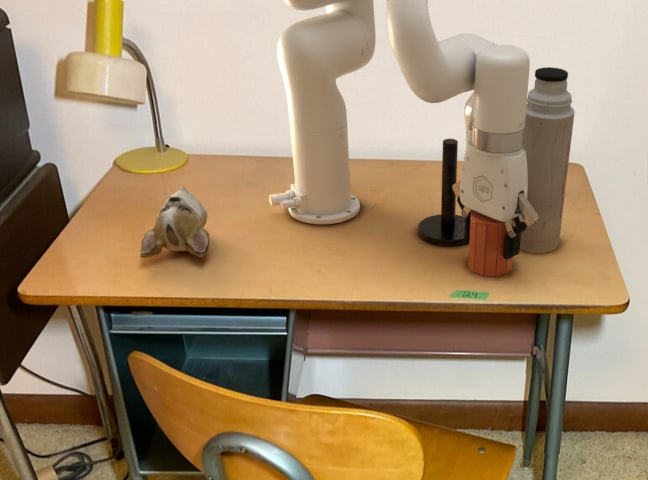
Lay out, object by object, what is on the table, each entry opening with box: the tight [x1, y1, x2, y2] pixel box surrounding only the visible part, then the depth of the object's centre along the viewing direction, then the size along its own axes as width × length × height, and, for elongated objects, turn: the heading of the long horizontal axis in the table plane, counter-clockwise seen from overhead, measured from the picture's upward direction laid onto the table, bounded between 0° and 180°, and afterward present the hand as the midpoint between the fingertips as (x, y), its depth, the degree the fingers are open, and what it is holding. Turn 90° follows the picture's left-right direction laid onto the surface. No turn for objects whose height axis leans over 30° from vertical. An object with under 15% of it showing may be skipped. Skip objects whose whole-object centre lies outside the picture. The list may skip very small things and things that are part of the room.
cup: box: [467, 210, 516, 277], centre depth 133 cm, size 7×7×9 cm
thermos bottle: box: [520, 66, 575, 254], centre depth 134 cm, size 8×8×28 cm
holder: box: [418, 138, 469, 248], centre depth 139 cm, size 10×10×16 cm
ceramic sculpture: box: [139, 186, 211, 259], centre depth 136 cm, size 11×9×15 cm
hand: (491, 247), depth 133 cm, fingers open, 7 cm apart
